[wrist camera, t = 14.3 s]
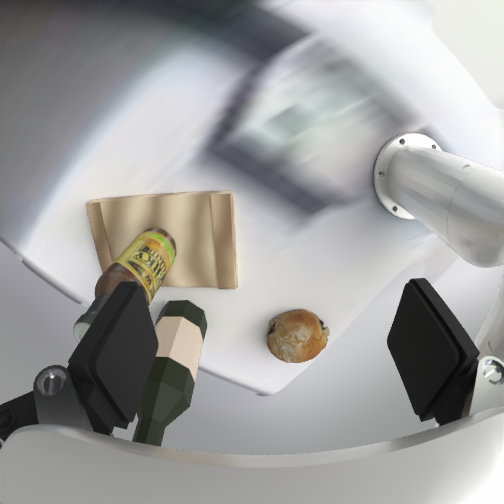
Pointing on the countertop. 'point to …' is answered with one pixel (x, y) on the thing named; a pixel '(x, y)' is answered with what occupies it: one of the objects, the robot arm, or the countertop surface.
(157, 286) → the sauce bottle
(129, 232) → the board
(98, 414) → the robot arm
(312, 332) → the bread roll
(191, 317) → the wine bottle
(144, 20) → the countertop surface
